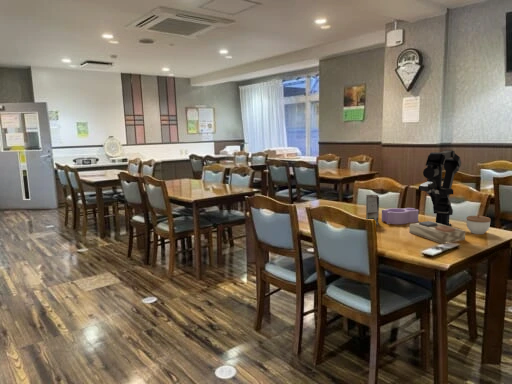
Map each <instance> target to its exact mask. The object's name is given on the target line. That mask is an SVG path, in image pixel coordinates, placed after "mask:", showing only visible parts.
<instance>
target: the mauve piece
mask: <svg viewBox="0 0 512 384" xmlns="http://www.w3.org/2000/svg"><path fill="white" fill-rule="evenodd" d="M419 212H420V211H419V209H416V208H415V207H414V208H413V207H405V208H398V207H397V208H396V207H392V208H391V207H390V208H385V209H381V222H384V221H385V223H386V224H387V225H390V224H392V225H405V224H408V223H409V224H410V223H419Z"/></svg>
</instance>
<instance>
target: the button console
mask: <svg viewBox="0 0 512 384" xmlns="http://www.w3.org/2000/svg"><path fill="white" fill-rule="evenodd" d="M429 221H430V222H434V223H436V221H432V220H429ZM440 226H446V225H443V224H439V223H437V226H433V227H426V226H422V225H419V222H413V223H409V228H408V231H409V233H410V234H413V235H416V236H419V237H422V238H425V239H428V240H431V241H434V242H437V243H439V244H442V243H443V244H446V242H449V243H454V242H460V241H465V240H466V230H463V229H460V228H457V227H452V226H451V225H448V227H451V228H455V231H451V232H442V231H439V230H436V227H440Z"/></svg>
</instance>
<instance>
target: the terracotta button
mask: <svg viewBox="0 0 512 384" xmlns="http://www.w3.org/2000/svg"><path fill="white" fill-rule="evenodd" d="M448 226H449V225H448ZM448 226H440V227H436V230H439V231H442V232H451V231H455V228H456V227H453V228H451V227H452V226H450V227H448Z"/></svg>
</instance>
